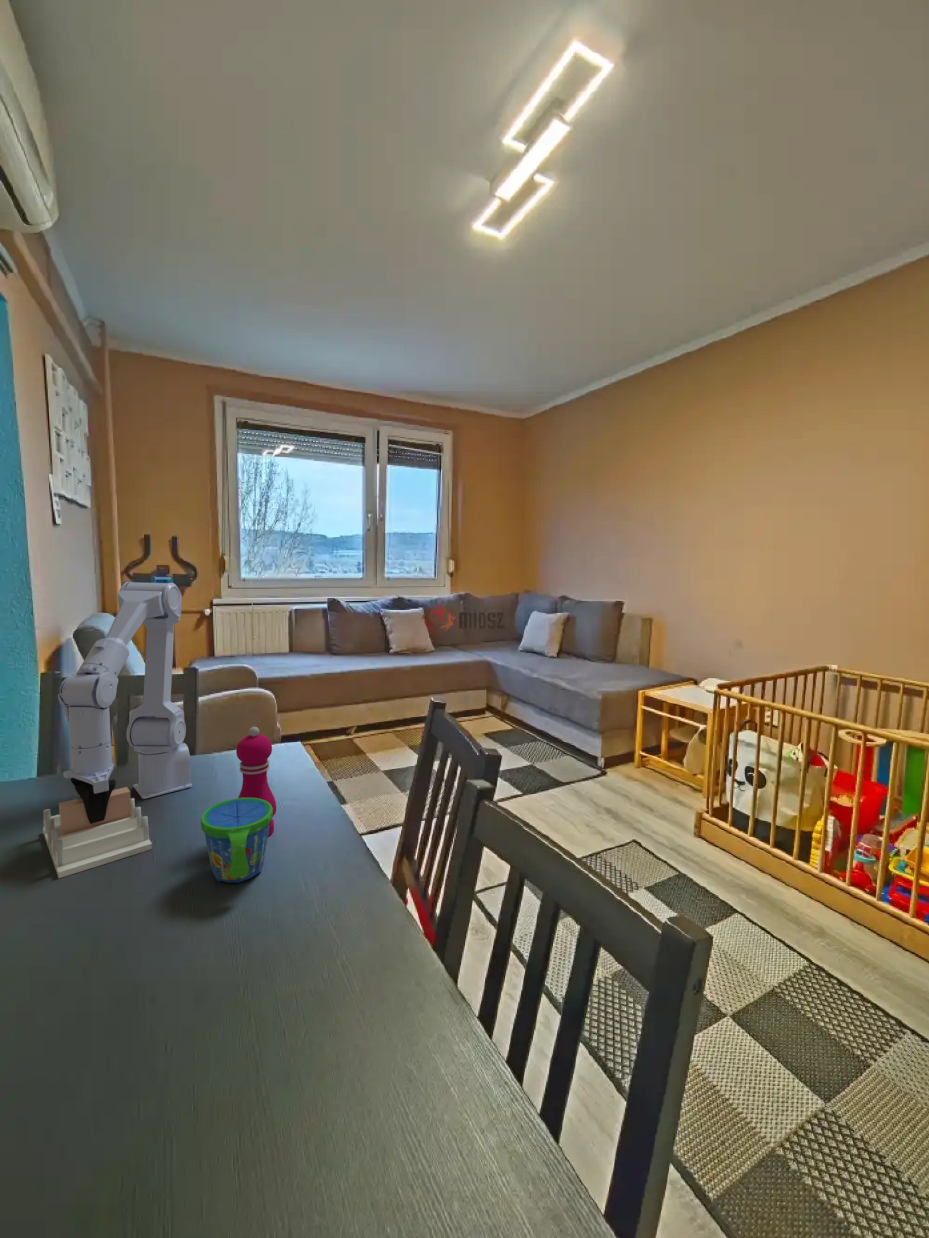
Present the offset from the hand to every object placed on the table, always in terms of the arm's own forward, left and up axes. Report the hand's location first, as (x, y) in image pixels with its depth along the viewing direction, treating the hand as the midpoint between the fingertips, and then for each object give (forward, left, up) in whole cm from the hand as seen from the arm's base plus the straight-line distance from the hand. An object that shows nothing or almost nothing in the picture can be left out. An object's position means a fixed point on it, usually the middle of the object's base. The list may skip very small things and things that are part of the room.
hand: (95, 818), depth 95 cm
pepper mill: (-22, +15, -4) cm, 27 cm away
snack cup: (-15, +25, -4) cm, 30 cm away
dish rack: (0, 0, -4) cm, 4 cm away
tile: (0, 0, -3) cm, 3 cm away
